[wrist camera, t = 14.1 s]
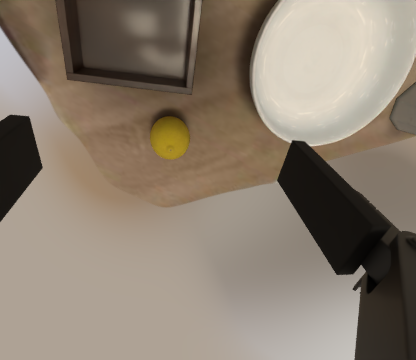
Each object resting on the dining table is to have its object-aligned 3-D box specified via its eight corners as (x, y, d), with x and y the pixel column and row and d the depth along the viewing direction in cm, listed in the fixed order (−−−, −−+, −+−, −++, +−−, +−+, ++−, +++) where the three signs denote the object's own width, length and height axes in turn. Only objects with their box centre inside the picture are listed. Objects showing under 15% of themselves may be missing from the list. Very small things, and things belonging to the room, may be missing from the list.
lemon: (178, 148, 40) (181, 174, 33) (146, 134, 38) (141, 159, 31) (193, 118, 38) (199, 140, 31) (160, 102, 35) (158, 122, 29)
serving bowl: (318, 145, 43) (341, 164, 38) (213, 99, 36) (222, 114, 31) (412, 17, 34) (462, 17, 28) (295, -80, 27) (329, -105, 21)
